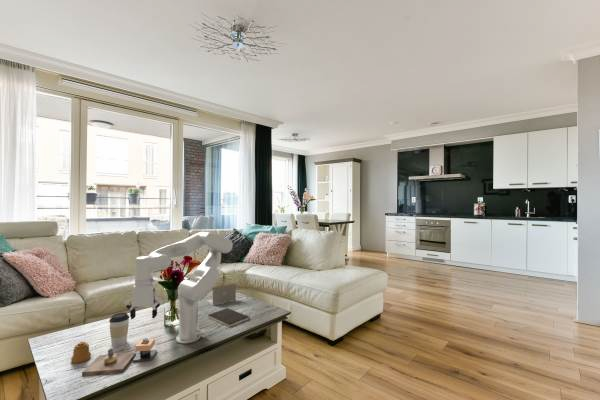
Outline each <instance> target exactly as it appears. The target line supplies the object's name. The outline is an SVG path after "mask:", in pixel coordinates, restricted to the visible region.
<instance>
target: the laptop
mask: <svg viewBox="0 0 600 400" xmlns="http://www.w3.org/2000/svg"><path fill="white" fill-rule="evenodd" d="M236 289H237V288H236V283H231V284H227V285H226V284H225V285H222V286H221V285H220V286H216V287H215V286H214V287H213V288H212V298H211V299H206V302H207V303H209V304H210V305H212V306H216V305H221V304H225V303H226V304H227V303H229V302H233V301H236V298H237V296H236V293H237V292H236V291H237V290H236Z"/></svg>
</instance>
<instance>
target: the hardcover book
mask: <svg viewBox="0 0 600 400" xmlns="http://www.w3.org/2000/svg"><path fill="white" fill-rule="evenodd" d="M207 317H208V319H211V320H214V321H215V322H218V323H219V324H222V325H224V326H226V327H229V328H231V327H233V326H235V325H238V324H240V323H243V322H246V321H248V320H250V316H249V315H247V314H244V313H241V312H239V311H235V310H233V309H231V308H229V307H228V308H227V307H226V308H223V309H220V310H217V311H215V312H211V313H208V314H207Z"/></svg>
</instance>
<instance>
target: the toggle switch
mask: <svg viewBox="0 0 600 400" xmlns="http://www.w3.org/2000/svg"><path fill="white" fill-rule="evenodd" d="M136 355H137V352H126V353H125V352H124V353H114V349H113V348H111V347H110V348H108V350H107V354H99V355H98V356H97V357H96V358H95V359H94V360H93V361H92V362H91V363H90V364H88V366H87V367H86V368H85V369H84V370H82V371H81V376H82V377H85V376H95V375H108V374H119V373H123V372H124V371H125V370H126V369H127V368H128V366H129V365H130V364H131V363H132V362H133V359H134V358H135V357H136Z"/></svg>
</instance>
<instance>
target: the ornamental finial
mask: <svg viewBox="0 0 600 400" xmlns="http://www.w3.org/2000/svg"><path fill="white" fill-rule="evenodd" d="M91 356H92V353H91V351H90V343H89V342H86V341H79V342H78V343H77V344H76V345H74V347H73V355H72V357H71V358H70V361H71V363H73V364H81V363H84V362H87V361H88V360H89V359H91Z"/></svg>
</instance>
